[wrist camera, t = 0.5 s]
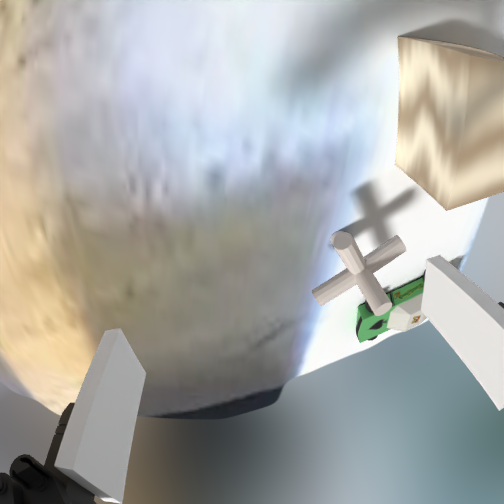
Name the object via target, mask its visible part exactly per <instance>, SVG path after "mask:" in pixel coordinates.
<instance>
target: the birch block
mask: <svg viewBox="0 0 504 504" xmlns="http://www.w3.org/2000/svg"><path fill="white" fill-rule="evenodd" d="M398 48H399V116H398V135H397V149H396V161H395V165H396V166H397V167H398V168H400V169H401V170H402V171H403V172H404V173H406V174H407V175H408V176H409V177H410V178H411V179H413V180H414V181H415V182H416V183H417V184H418V185H419V186H421V187H422V188H423V189H424V190H425V191H426V192H427V193H428V194H429V195H430V196H432V197H433V198H434V199H435V200H436V201H437V202H438V203H439V204H440V205H441V206H442V207H443V208H444V209H445V210H446V211H447V210H450V209H453V208H457V207H460V206H463V205H466V204H469V203H472V202H475V201H478V200H481V199H484V198H487V197H490V196H492V195H495V194H498V193H501V192H504V57H501V56H498V55H496V54H493V53H490V52H487V51H484V50H481V49H477V48H472V47H468V46H463V45H458V44H452V43H447V42H441V41H434V40H427V39H419V38H410V37H399V36H398Z"/></svg>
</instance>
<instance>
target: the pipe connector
mask: <svg viewBox="0 0 504 504" xmlns="http://www.w3.org/2000/svg"><path fill="white" fill-rule="evenodd" d="M330 241H331V243H332V245H333V246H334V248H335V249H336V251H337V252H338V254H339V256H340V257H341V259H342V260H343V262H344V264H345V265H346V267H347V268H346V269H345V270H343V271H342V272H340V273H339V274H337V275H335V276H334V277H332V278H331V279H329V280H328V281H326V282H324V283H323V284H321V285H320V286H318V287H316V288H315V289H313V290H312V293H313V295H314V297H315V299H316V300H317V302H318V303H319V304H320V305H321V306H322V305H324V304H325V303H327V302H329V301H330V300H332V299H334V298H335V297H337V296H338V295H340V294H342V293H343V292H345V291H346V290H348V289H350V288H351V287H353V286H354V285H356V284H357V285H358V287H359V289H360V290H361V292H362V294H363V295H364V297H365V299H366V300H367V302H368V304H369V305H370V307H371V309H372V311H373V312H374V314H375V315H376V316H380V315H383V314H385V313H386V312H388V311H389V310H390V308H391V307H392V303H391V301H390V300H389V298H388V296H387V295H386V293H385V292H384V290H383V289H382V287H381V285H380V284H379V282H378V281H377V279H376V278H375V276H374V275H373V273H374V272H376V271H377V270H379V269H380V268H382V267H383V266H385V265H386V264H388V263H389V262H391V261H392V260H393V259H395V258H396V257H398V256H399V255H401V254H402V253H404V252H405V251H406V247H405V245H404V243H403V242H402V240H401V239H400V237H399V236H398V235H396V236H394V237H393V238H391V239H390V240H388V241H387V242H385V243H384V244H383V245H381V246H380V247H378V248H377V249H375V250H374V251H372V252H371V253H369V254H368V255H366V256H365V257H363V256H362V254H361V252H360V250H359V248H358V246H357V244H356V242H355V240H354V238H353V236H352V235H351V234H350V233H348V232H344V231H337V232H335V233H334V234H333V235H332V236H331V238H330Z"/></svg>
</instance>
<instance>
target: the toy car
mask: <svg viewBox="0 0 504 504" xmlns="http://www.w3.org/2000/svg"><path fill="white" fill-rule="evenodd" d="M425 272H426V270H425ZM425 272H424V275H423V277H422V278H420V279H418V280H416V281H414V282H412V283H410V284H408V285H405V286H403V287H401V288H399V289H397V290H395V291H392V292H390V293H388V294H386V295H387V296H388V298H389V300H390V301H391V303H392V307H391V308H390V310H389V311H388V312H386V313H385V314H383V315H380V316H376V315H375V314H374V312H373V311H372V309H371V307H370V305H369V304H368V302H367V300H366V301H365V304H363V305H361V306H359V307H358V315H357V325H356V334H357V337H358V340H359V342H360V343H361V342H363V341H366V340H374V339H375V338H376V337H377V336H378V335H379V334H381V333H383V332H385V331H388V330H390V329H394V330H399V331H404V332H405V331H407V330H409V329H411V328H413V327H415V326H417V325H419V324H420V323H422V322H423V321H424V320H425V319H426V318H427V317H426V316H425V315H424V313H423V312H422V311H421V305H422V298H423V290H424V282H425Z"/></svg>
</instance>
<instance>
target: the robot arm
mask: <svg viewBox="0 0 504 504" xmlns="http://www.w3.org/2000/svg"><path fill="white" fill-rule="evenodd" d="M421 311H422V312H423V313H424V315H425V316H426V317H427V318H428V319H429V320H430V322H431V323H432V324H433V325H434V326H435V327H436V329H437V330H438V331H439V332H440V333H441V335H442V336H443V337H444V338H445V339H446V341H447V342H448V343H449V344H450V346H451V347H452V348H453V349H454V351H455V352H456V353H457V354H458V355H459V357H460V358H461V359H462V361H463V362H464V363H465V364H466V366H467V367H468V368H469V370H470V371H471V372H472V374H473V375H474V376H475V377H476V379H477V380H478V382H479V383H480V384H481V386H482V387H483V388H484V390H485V391H486V392H487V394H488V395H489V397H490V398H491V399H492V401H493V402H494V404H495V405H496V407H497V408H498V409H499V411H500V410H501V409H503V408H504V304H503V303H502V302H499V303H496V301H494V300H493V299H492V298H491V297H490V296H489V295H488V294H486V293H485V292H484V291H483V290H482V289H481V288H480V287H478V286H477V285H476V284H475V283H474V282H472V281H471V280H470V279H469V278H467V277H466V276H465V275H464V274H463V273H462V272H460V271H459V270H458V269H457V268H455V267H454V266H453V265H452V264H450V263H449V262H448V261H446V260H445V259H444V258H443V257H441V256H440V255H439V256H436V257H432V258H429V259H427V261H426V272H425V282H424V290H423V298H422V305H421ZM145 376H146V372H145V371H144V369H143V367H142V366H141V364H140V362H139V361H138V359H137V357H136V356H135V354H134V352H133V350H132V349H131V347H130V345H129V343H128V341H127V340H126V338H125V336H124V334H123V332H122V330H121V328H119V329H113V330H106V331H105V333H104V335H103V337H102V339H101V342H100V344H99V346H98V348H97V351H96V353H95V355H94V358H93V360H92V362H91V365H90V367H89V369H88V372H87V374H86V377H85V379H84V382H83V384H82V387H81V389H80V392H79V394H78V397H77V400H76V402H75V403H70V404H69V405H68V406H67V408H66V409H65V410H64V411H63V413H62V415H61V418H60V421H59V426H57V429H56V432H55V433H56V435H54V437H53V440H52V443H51V446H50V449H49V452H48V455H47V458H46V461H45V465H44V466H43V465H41V464H40V463H39V462H38V461H36V460H35V459H34V458H33V457H31V456H30V455H26V454H24V455H21V456H18V457H17V458H16V459H15V460H14V461H13V463H12V464H11V467H10V476H9V475H8V474H6V473H0V504H96V503H95V502H94V496H97V497H99V498H100V499H102V500H103V501H107V502H114V503H121V504H122V502H123V494H124V487H125V480H126V474H127V468H128V461H129V455H130V450H131V444H132V439H133V433H134V428H135V423H136V418H137V413H138V408H139V403H140V399H141V394H142V389H143V385H144V380H145Z"/></svg>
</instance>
